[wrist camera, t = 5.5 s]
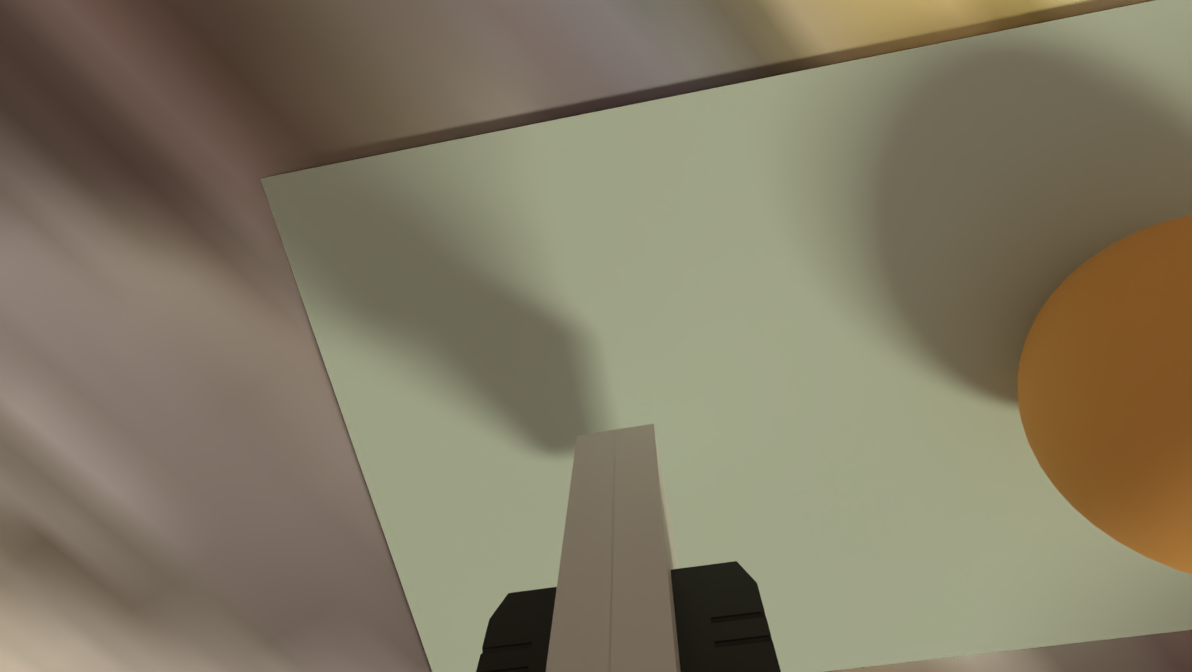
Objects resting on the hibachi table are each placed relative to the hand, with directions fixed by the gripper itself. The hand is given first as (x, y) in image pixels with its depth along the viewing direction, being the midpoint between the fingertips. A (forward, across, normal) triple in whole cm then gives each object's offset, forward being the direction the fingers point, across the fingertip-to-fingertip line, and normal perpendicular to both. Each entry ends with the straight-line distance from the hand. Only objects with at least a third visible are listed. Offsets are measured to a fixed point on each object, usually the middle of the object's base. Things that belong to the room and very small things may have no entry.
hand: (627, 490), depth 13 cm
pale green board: (+2, -10, 0) cm, 10 cm away
